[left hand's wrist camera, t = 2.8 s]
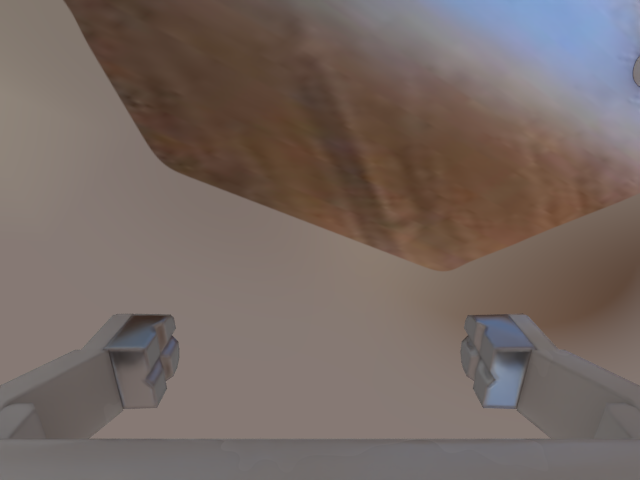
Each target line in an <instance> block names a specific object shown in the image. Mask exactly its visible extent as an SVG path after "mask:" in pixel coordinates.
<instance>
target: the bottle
mask: <svg viewBox="0 0 640 480" xmlns="http://www.w3.org/2000/svg"><path fill="white" fill-rule="evenodd" d="M633 77H634V80H635V82H636V84H637V85H638V86H640V56H639V58H638V59H637V61H636V63H635V66H634V70H633Z"/></svg>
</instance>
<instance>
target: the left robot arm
mask: <svg viewBox="0 0 640 480" xmlns="http://www.w3.org/2000/svg"><path fill="white" fill-rule="evenodd" d="M175 329H176V326H175V321H174V318H173V317H172V316H171V315H161V314H116V315H113V316H112V317H111V318H110V319H109V320H108V321H107V322H106V323H105V324H104V325H103V327H102V328H101V329H100V330H99V331H98V332H97V333H96V334H95V335H94V336H93V337H92V338H91V340H90V341H89V342H88V343H87V344H86V345H85V346H84V347H83V348H82V349H81V350H74V351H72V352H70V353H68V354H65V355H63V356H61V357H59V358H57V359H55V360H53V361H51V362H49V363H47V364H44V365H42V366H40V367H38V368H36V369H34V370H32V371H30V372H28V373H26V374H23V375H21V376H19V377H17V378H15V379H13V380H11V381H9V382H7V383H5V384H3V385H1V386H0V480H640V386H639V385H637V384H635V383H633V382H631V381H629V380H627V379H625V378H623V377H621V376H618V375H616V374H614V373H612V372H610V371H608V370H606V369H604V368H602V367H600V366H598V365H595V364H593V363H591V362H589V361H587V360H585V359H583V358H581V357H579V356H577V355H574V354H572V353H570V352H568V351H566V350H559V349H558V348H557V347H556V346H555V345H554V344H553V343H552V342H551V341H550V340H549V339H548V337H547V336H546V335H545V334H544V333H543V332H542V331H541V330H540V329H539V328H538V327H537V325H536V324H535V323H534V322H533V321H532V320H531V319H530V318H529V317H528V316H527V315H525V314H502V315H468V316H467V318H466V321H465V326H464V329H465V330H466V332H467V334H468V336H467V337H466V338H465V339H464V340H463V341H462V344H461V363H462V366H463V369H464V371H465V373H466V376H467V377H469V378H470V379H472V380H473V381H474V386H473V389H474V391H475V393H476V395H477V397H478V399H479V401H480V403H481V405H482V407H483V408H504V409H517V411H518V412H519V413H520V414H522V415H523V416H524V417H525V418H527V419H528V420H529V421H530V422H531V423H533V424H534V425H535V426H536V427H538V428H539V429H540V430H541V431H543V432H544V433H545V434H546V435H547V436H549V437H550V438H551V439H89V438H90V437H92V436H93V435H94V434H95V433H96V432H98V431H99V430H100V429H101V428H102V427H104V426H105V425H106V424H107V423H109V422H110V421H111V420H112V419H114V418H115V417H116V416H117V415H118V414H120V413H121V412H122V411H123V409H135V408H157V407H158V405H159V403H160V401H161V399H162V397H163V395H164V393H165V391H166V389H167V386H166V381H167V380H168V379H170V378H171V377H173V376H174V373H175V371H176V369H177V366H178V361H179V344H178V341H177V340H176V339H175V338H174V337H173V336H172V334H173V332H174V330H175Z"/></svg>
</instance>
